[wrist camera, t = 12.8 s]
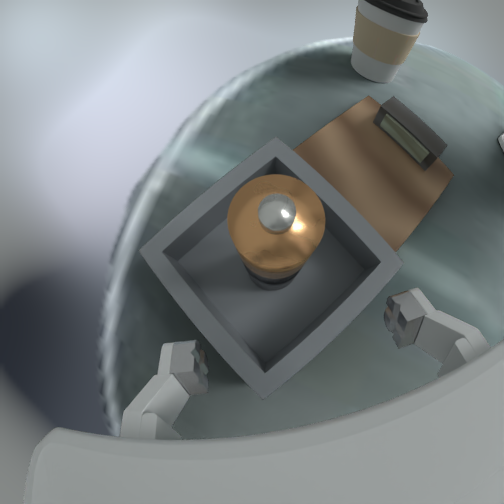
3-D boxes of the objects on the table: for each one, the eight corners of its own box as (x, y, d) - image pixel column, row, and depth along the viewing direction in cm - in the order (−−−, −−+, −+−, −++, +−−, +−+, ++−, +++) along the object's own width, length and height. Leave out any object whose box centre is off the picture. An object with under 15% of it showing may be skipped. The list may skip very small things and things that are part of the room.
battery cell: (273, 231, 24) (278, 149, 12) (308, 267, 24) (349, 215, 11) (236, 263, 24) (203, 208, 11) (270, 301, 23) (274, 285, 11)
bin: (275, 164, 27) (276, 136, 22) (381, 272, 24) (404, 262, 19) (161, 261, 26) (138, 250, 21) (264, 383, 23) (262, 400, 18)
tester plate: (365, 103, 28) (374, 79, 24) (447, 180, 25) (467, 163, 21) (289, 159, 27) (292, 134, 23) (387, 257, 24) (407, 247, 20)
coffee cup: (376, 49, 31) (396, -20, 16) (411, 85, 29) (446, 12, 14) (331, 54, 31) (344, -28, 16) (367, 91, 29) (398, 3, 14)
